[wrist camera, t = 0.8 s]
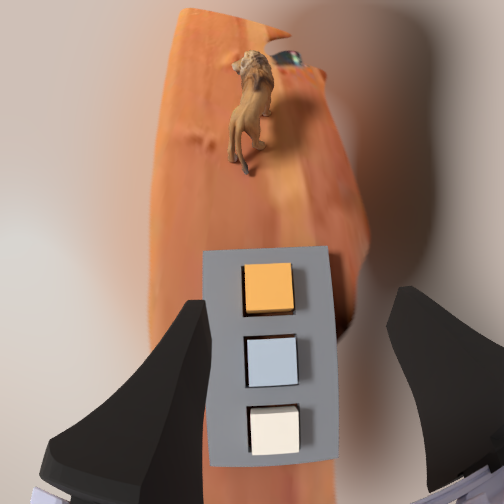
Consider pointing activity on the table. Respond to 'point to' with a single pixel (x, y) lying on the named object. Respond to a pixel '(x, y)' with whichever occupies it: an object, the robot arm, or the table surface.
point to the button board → (300, 324)
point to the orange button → (268, 288)
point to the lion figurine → (250, 103)
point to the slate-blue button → (272, 362)
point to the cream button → (274, 430)
